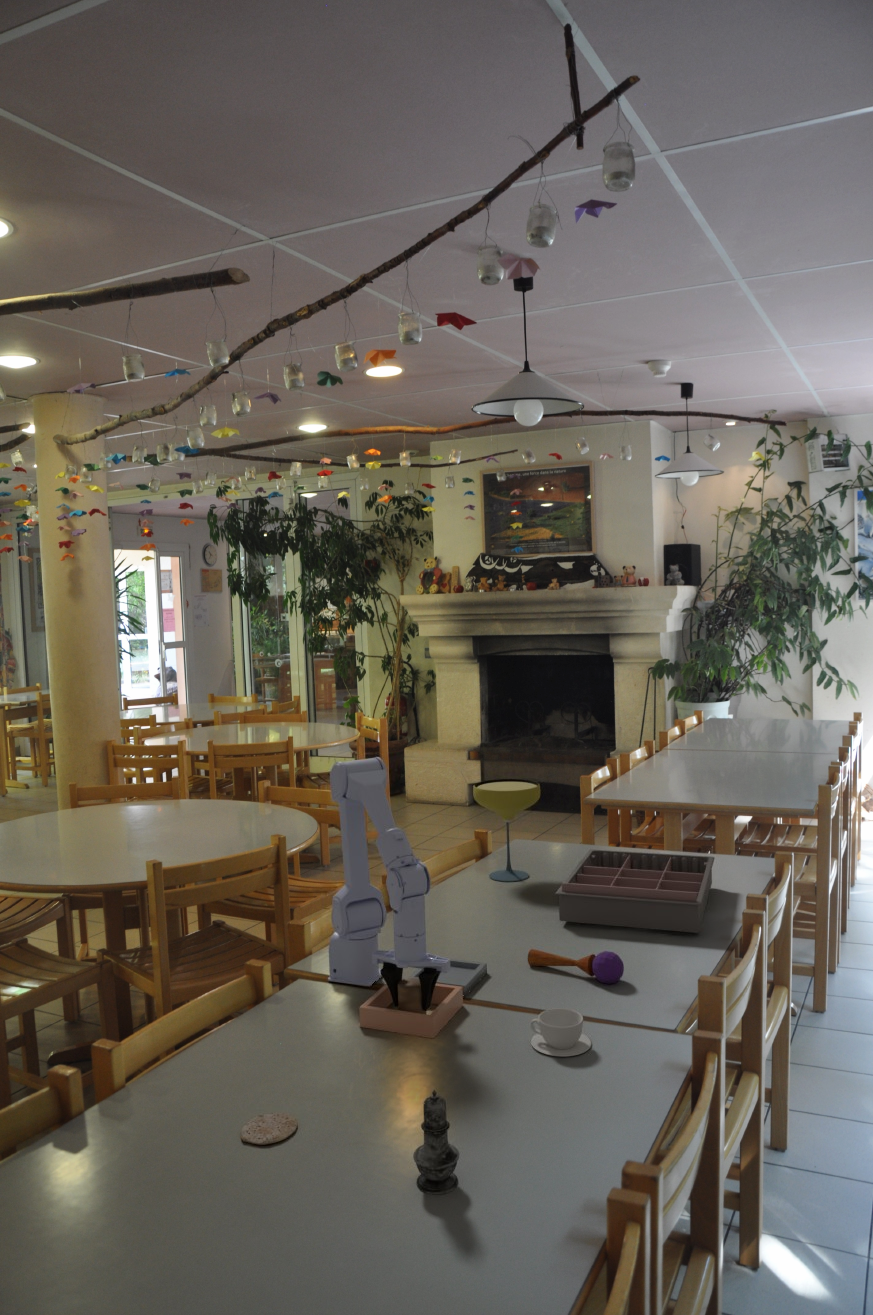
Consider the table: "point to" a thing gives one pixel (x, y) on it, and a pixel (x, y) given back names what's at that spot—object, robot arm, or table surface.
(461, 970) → the tray
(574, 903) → the organizer tray
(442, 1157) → the salt shaker
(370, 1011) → the holder
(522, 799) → the cocktail glass
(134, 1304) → the table surface
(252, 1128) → the flatbread
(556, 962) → the kendama
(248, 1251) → the table surface
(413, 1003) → the brown rounded cylinder
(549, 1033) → the teacup
